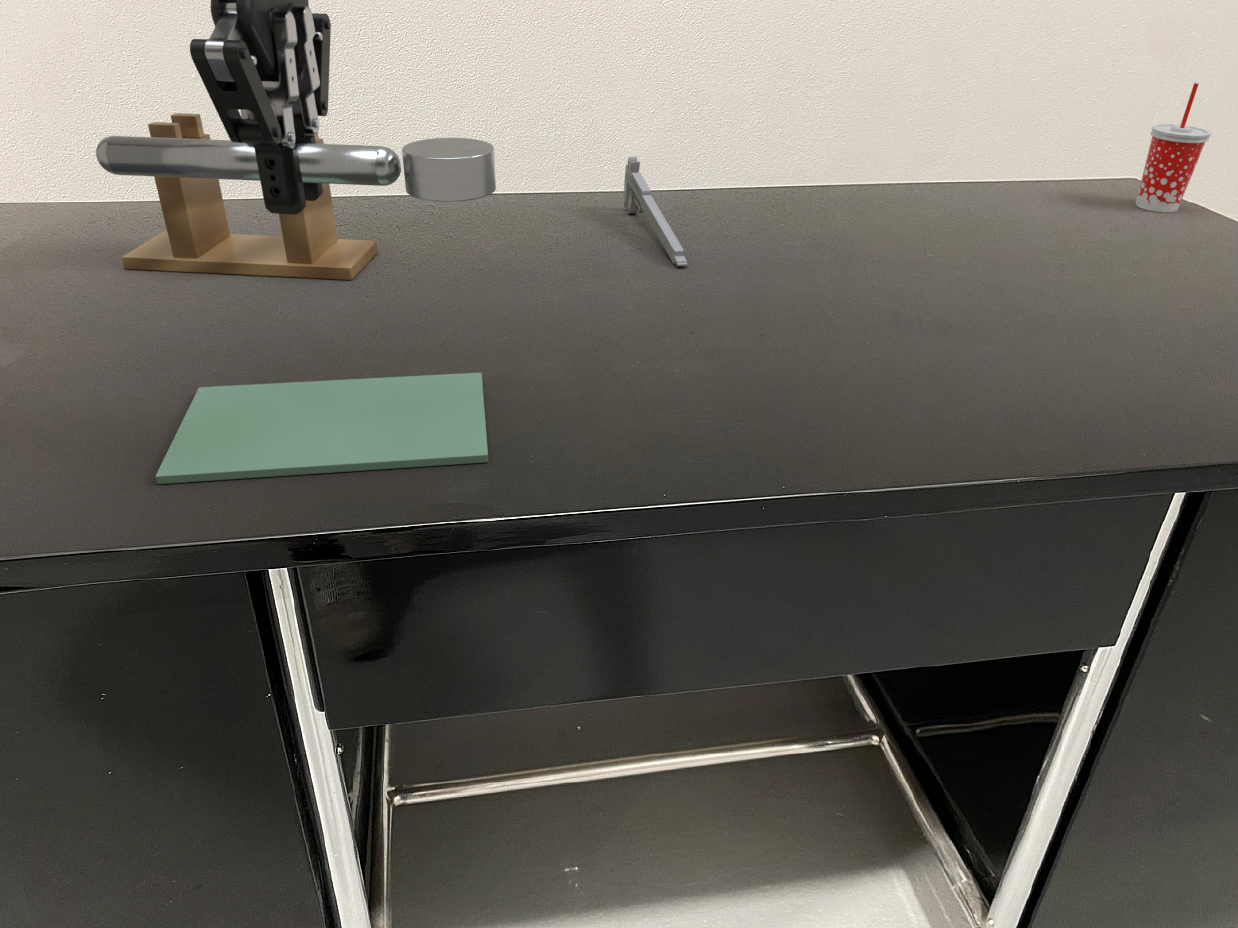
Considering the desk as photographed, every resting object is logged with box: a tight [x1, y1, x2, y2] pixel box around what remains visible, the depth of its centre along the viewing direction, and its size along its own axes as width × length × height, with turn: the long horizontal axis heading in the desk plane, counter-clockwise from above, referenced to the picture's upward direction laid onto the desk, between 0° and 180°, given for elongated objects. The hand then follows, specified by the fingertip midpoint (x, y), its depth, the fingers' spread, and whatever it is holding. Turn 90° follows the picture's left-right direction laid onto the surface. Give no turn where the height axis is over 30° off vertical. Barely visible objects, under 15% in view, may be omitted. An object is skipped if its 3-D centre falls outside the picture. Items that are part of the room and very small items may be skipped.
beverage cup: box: [1135, 82, 1212, 213], centre depth 109 cm, size 6×6×14 cm
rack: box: [121, 112, 379, 281], centre depth 87 cm, size 22×8×13 cm, turn 85°
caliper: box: [623, 156, 688, 267], centre depth 98 cm, size 20×1×6 cm, turn 15°
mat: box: [155, 372, 489, 485], centre depth 63 cm, size 20×12×1 cm, turn 99°
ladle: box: [95, 135, 497, 203], centre depth 54 cm, size 24×5×2 cm, turn 85°
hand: (295, 204), depth 56 cm, fingers closed on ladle, 2 cm apart
